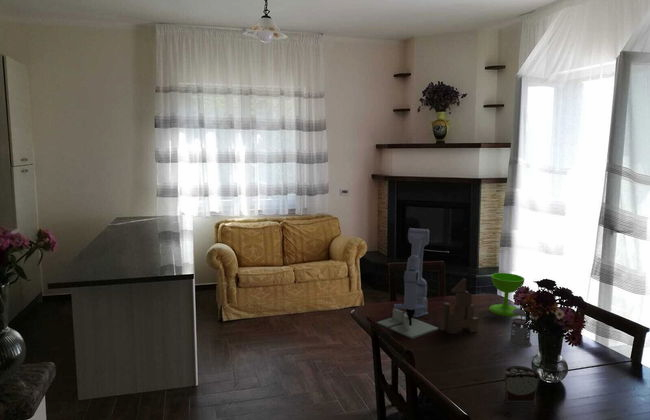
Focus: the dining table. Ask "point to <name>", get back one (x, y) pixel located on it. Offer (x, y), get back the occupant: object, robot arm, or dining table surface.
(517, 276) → the wineglass
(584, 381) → the dining table surface
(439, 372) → the dining table surface
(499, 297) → the dining table surface
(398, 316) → the base
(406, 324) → the fence panel
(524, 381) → the food container
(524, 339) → the grey box grater
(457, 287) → the wooden toy
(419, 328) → the board
